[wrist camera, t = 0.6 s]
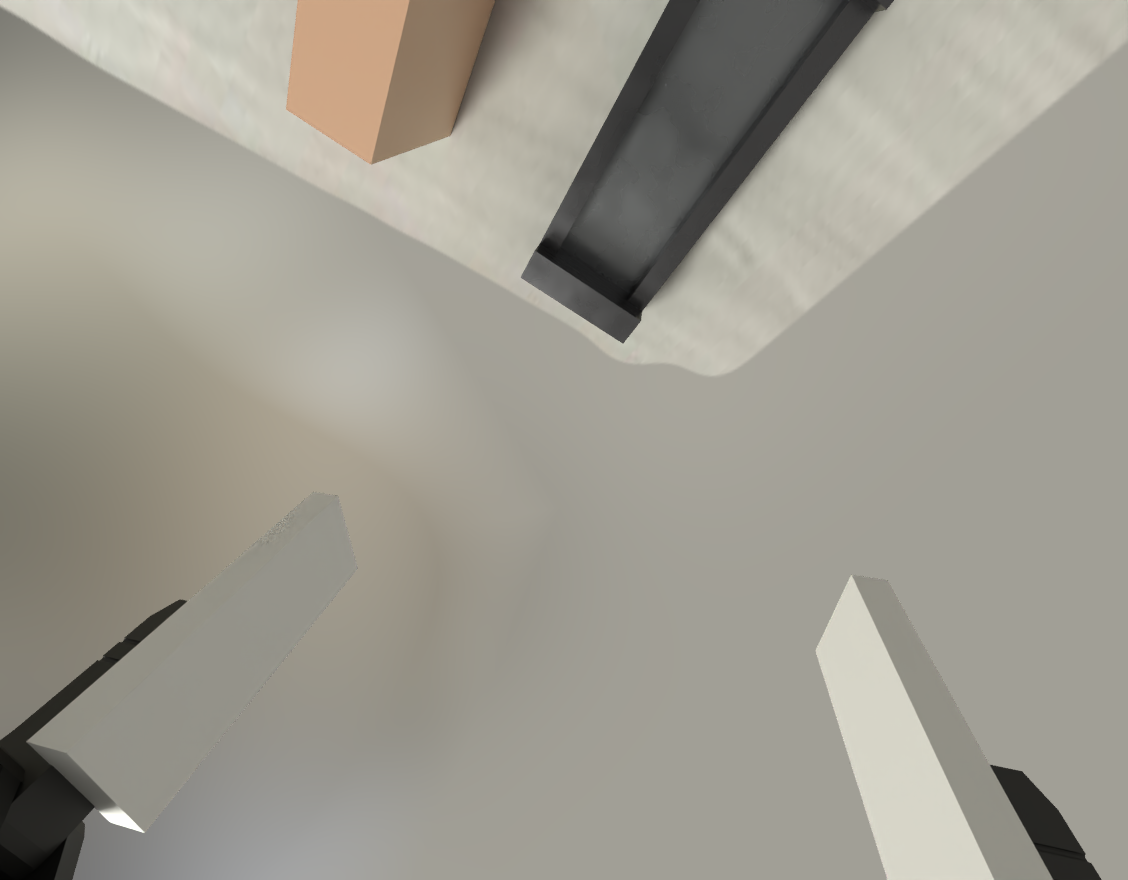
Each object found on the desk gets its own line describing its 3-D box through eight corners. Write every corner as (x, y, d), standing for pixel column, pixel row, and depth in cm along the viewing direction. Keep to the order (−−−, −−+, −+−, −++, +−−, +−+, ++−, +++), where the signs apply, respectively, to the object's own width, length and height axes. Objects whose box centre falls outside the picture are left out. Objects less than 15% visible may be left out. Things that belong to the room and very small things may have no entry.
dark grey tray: (763, -171, 19) (780, -213, 16) (897, -37, 21) (934, -52, 18) (534, 256, 32) (520, 277, 29) (627, 317, 34) (623, 343, 31)
